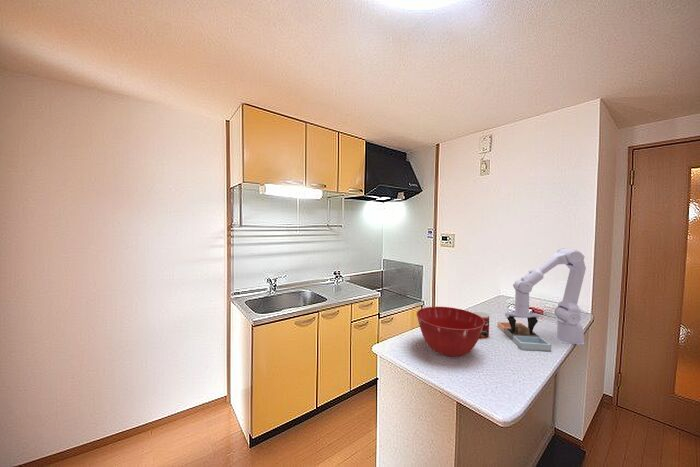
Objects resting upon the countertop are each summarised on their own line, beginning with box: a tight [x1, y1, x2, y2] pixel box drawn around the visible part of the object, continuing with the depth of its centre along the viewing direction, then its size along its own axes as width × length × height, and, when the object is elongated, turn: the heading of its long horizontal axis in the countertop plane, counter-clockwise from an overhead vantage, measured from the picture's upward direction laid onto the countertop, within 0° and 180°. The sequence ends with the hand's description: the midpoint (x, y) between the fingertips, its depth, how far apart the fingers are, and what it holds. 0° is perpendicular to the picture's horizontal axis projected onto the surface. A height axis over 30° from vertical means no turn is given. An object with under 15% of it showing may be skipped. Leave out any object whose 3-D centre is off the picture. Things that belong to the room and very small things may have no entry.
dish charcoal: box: [504, 328, 541, 341], centre depth 131 cm, size 12×8×3 cm
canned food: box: [473, 311, 490, 340], centre depth 133 cm, size 8×8×11 cm
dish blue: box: [512, 336, 552, 352], centre depth 122 cm, size 12×8×3 cm
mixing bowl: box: [416, 306, 485, 358], centre depth 118 cm, size 28×28×15 cm
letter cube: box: [513, 324, 530, 335], centre depth 131 cm, size 5×5×5 cm
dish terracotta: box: [497, 321, 528, 334], centre depth 139 cm, size 12×8×3 cm
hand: (521, 332), depth 130 cm, fingers open, 7 cm apart
